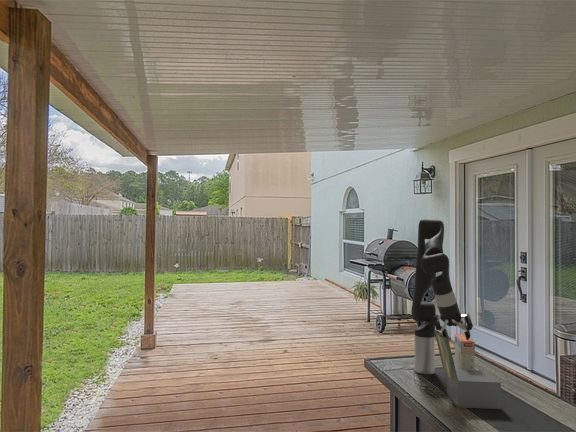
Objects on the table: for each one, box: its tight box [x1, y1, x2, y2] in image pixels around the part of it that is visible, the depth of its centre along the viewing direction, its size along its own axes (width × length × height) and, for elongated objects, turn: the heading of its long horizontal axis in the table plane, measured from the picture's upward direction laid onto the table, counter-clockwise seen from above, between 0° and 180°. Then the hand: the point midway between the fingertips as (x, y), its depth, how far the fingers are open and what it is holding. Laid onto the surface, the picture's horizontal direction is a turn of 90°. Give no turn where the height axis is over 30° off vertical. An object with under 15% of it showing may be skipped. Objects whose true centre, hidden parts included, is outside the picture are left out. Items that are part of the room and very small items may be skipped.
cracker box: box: [454, 333, 476, 370], centre depth 187 cm, size 14×6×21 cm, turn 168°
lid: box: [435, 330, 458, 382], centre depth 170 cm, size 15×16×1 cm
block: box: [446, 369, 502, 410], centre depth 169 cm, size 14×16×10 cm
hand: (457, 338), depth 170 cm, fingers open, 8 cm apart
